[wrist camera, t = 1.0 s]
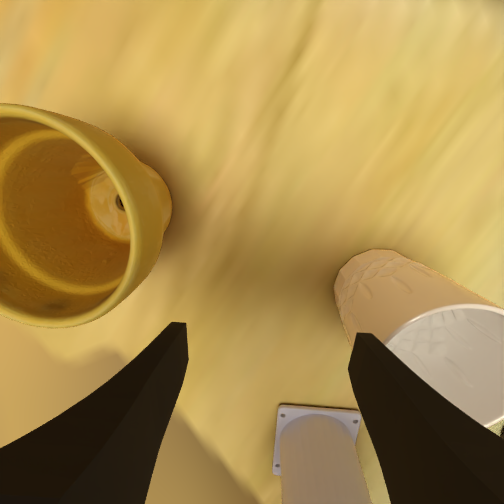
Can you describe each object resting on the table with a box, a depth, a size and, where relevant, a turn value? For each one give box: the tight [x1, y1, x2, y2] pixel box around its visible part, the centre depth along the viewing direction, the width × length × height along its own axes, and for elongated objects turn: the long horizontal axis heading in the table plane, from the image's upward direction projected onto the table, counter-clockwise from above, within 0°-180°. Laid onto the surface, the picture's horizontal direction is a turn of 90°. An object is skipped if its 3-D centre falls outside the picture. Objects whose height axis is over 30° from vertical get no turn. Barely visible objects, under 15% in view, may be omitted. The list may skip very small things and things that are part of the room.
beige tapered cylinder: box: [334, 249, 504, 428], centre depth 18 cm, size 8×8×10 cm
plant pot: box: [0, 103, 172, 328], centre depth 17 cm, size 10×10×10 cm
